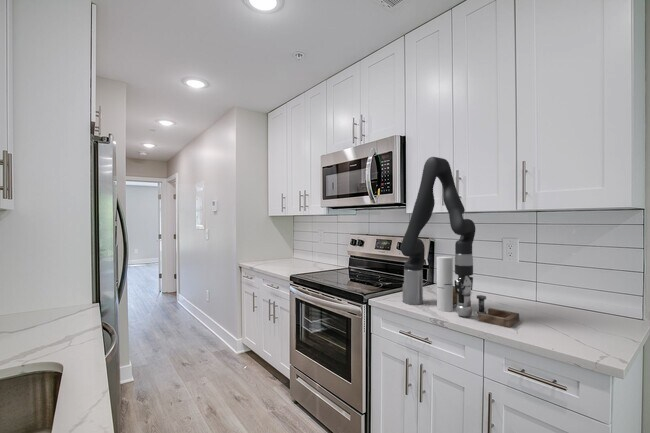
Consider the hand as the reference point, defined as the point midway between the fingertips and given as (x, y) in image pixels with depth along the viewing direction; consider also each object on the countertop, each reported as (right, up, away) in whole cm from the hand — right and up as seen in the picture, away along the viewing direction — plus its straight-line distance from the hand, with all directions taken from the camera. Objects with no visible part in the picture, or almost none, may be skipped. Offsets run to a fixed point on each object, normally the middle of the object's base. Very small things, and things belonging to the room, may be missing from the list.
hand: (464, 301), depth 145 cm
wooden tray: (+12, -6, -7) cm, 15 cm away
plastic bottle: (0, -7, 0) cm, 7 cm away
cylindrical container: (-5, -7, +11) cm, 13 cm away
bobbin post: (+9, -6, +3) cm, 12 cm away
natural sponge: (+1, -7, +18) cm, 19 cm away
